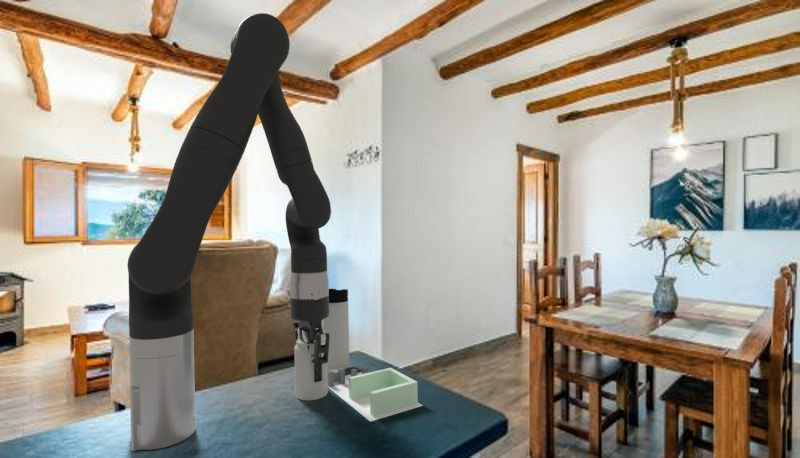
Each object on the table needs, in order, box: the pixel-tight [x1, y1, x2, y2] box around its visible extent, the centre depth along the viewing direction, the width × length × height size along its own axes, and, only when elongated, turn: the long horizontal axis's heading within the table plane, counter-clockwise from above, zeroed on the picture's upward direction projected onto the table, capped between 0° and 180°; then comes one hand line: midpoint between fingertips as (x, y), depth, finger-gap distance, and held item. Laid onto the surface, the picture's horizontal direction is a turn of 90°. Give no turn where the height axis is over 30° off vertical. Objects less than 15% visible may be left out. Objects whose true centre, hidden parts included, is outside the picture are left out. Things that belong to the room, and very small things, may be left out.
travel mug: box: [321, 288, 350, 371], centre depth 98 cm, size 6×7×20 cm
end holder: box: [349, 367, 419, 417], centre depth 79 cm, size 10×10×4 cm
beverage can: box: [293, 339, 329, 401], centre depth 83 cm, size 6×6×12 cm
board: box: [328, 366, 424, 422], centre depth 83 cm, size 11×22×4 cm, turn 33°
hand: (311, 378), depth 83 cm, fingers closed on beverage can, 5 cm apart
